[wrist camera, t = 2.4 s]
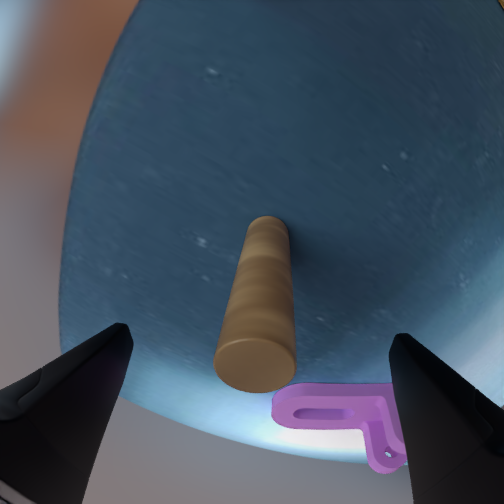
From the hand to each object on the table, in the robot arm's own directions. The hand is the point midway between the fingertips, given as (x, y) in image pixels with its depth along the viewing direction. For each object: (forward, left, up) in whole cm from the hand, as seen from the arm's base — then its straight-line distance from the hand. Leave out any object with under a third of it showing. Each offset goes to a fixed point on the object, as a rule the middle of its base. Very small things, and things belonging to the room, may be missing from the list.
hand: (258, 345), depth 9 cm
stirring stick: (0, 0, -9) cm, 9 cm away
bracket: (-15, +9, -9) cm, 20 cm away
